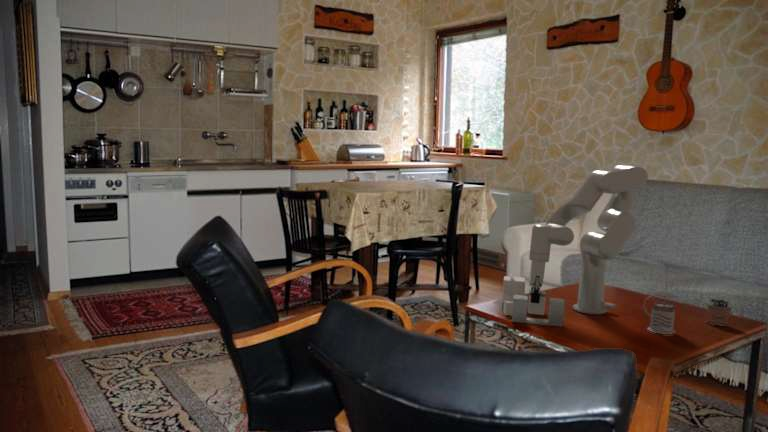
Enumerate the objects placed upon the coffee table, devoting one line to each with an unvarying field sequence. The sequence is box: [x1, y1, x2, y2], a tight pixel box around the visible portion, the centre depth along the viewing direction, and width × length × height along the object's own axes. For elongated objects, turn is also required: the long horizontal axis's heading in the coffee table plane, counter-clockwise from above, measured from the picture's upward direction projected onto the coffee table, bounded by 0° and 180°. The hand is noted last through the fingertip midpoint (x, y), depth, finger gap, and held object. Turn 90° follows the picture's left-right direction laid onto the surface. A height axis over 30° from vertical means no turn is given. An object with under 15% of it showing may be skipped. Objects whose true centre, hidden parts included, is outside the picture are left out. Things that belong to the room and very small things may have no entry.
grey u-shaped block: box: [511, 294, 565, 328], centre depth 235 cm, size 18×6×9 cm, turn 78°
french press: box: [643, 262, 678, 334], centre depth 231 cm, size 10×12×25 cm
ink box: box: [501, 272, 526, 310], centre depth 255 cm, size 9×8×13 cm
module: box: [527, 289, 547, 316], centre depth 250 cm, size 6×6×8 cm
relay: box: [502, 300, 513, 317], centre depth 245 cm, size 4×4×5 cm
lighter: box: [705, 298, 732, 326], centre depth 242 cm, size 8×3×10 cm, turn 71°
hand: (534, 300), depth 249 cm, fingers open, 9 cm apart
